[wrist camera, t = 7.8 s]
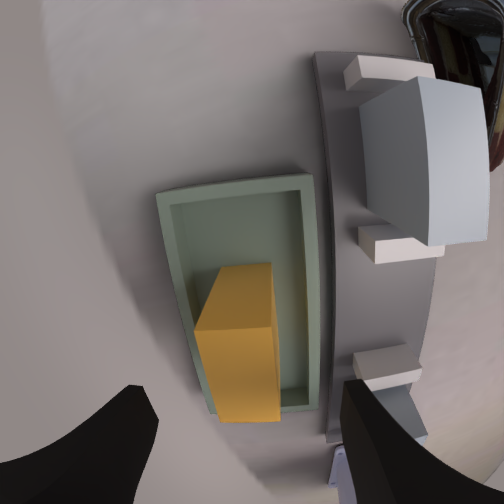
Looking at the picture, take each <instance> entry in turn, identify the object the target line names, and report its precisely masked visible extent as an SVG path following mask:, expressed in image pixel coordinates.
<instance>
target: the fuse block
mask: <svg viewBox="0 0 504 504" xmlns="http://www.w3.org/2000/svg"><path fill="white" fill-rule="evenodd" d="M312 61H313V67H314V72H315V79H316V85H317V91H318V98H319V105H320V113H321V120H322V128H323V137H324V146H325V156H326V166H327V178H328V190H329V205H330V222H331V245H332V347H331V369H330V386H329V400H328V412H327V423H326V433H325V435H326V442H327V443H332V442H339V441H342V433H341V426H340V418H339V417H340V410H341V402H342V393H343V384H344V381H349V380H355V379H362V380H364V382H365V383H366V385H367V386H368V387H369V389H370V390H371V391H376V390H381V389H385V388H390V387H395V386H399V385H403V384H405V385H406V387H407V390H408V392H410V389H411V385H412V382H416V381H419V378H420V375H421V372H422V366H421V365H420V363H419V361H418V360H419V356H420V352H421V348H422V344H423V340H424V335H425V330H426V325H427V320H428V315H429V309H430V304H431V297H432V291H433V283H434V276H435V267H436V257H439V256H444V249H445V245H440V246H431V247H427V246H426V245H424V244H423V243H421V242H420V241H418V240H417V239H415V238H413V237H412V236H410V235H409V234H407V233H405V232H404V231H402V230H401V229H399V228H397V227H396V226H394V225H392V224H391V223H389V222H387V221H386V220H384V219H382V218H381V217H379V216H377V215H376V214H374V213H372V212H370V211H369V210H367V189H366V172H365V159H364V148H363V138H362V129H361V121H360V113H359V106H361V105H362V104H364V103H366V102H368V101H370V100H372V99H373V98H375V97H377V96H379V95H381V94H383V93H385V92H387V91H388V90H390V89H392V88H394V87H396V86H398V85H400V84H402V83H404V82H406V81H408V80H410V79H412V78H414V77H416V76H422V77H428V78H434V79H436V77H435V73H434V68H433V64H428V63H425V62H424V60H419V59H413V58H407V57H399V56H391V55H382V54H371V53H356V52H314V55H313V57H312Z"/></svg>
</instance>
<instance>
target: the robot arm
mask: <svg viewBox="0 0 504 504" xmlns="http://www.w3.org/2000/svg"><path fill="white" fill-rule="evenodd" d="M339 418H340V426H341V433H342V441H343V445H342V446H338V447H337V448H336V449H335V453H334V458H333V463H332V468H331V473H330V478H329V483H328V487H329V488H336V487H337V488H338V496H339V504H504V492H502V491H499V490H496V489H493V488H490V487H488V486H485V485H483V484H481V483H479V482H476V481H474V480H472V479H470V478H468V477H466V476H465V475H463V474H461V473H460V472H458V471H456V470H455V469H453V468H451V467H450V466H448V465H446V464H445V463H443V462H442V461H441V460H439V459H438V458H437V457H435V456H434V455H433V454H431V453H430V452H429V451H428V450H426V449H425V448H424V447H423V446H422V445H420V444H419V443H418V442H417V441H416V440H415V439H414V438H413V437H412V436H411V435H410V434H409V433H408V432H406V431H405V430H404V429H403V427H402V426H401V425H400V424H399V423H398V422H397V421H396V420H395V419H394V418H393V417H392V416H391V414H390V413H389V412H388V411H387V410H386V409H385V408H384V406H383V405H382V404H381V403H380V401H379V400H378V399H377V398H376V396H375V395H374V394H373V393H372V391H371V390H370V389H369V387H368V386H367V385H366V383H365V382H364V380H362V379H355V380H349V381H344V384H343V393H342V402H341V410H340V417H339ZM158 423H159V419H158V417H157V415H156V413H155V412H154V409H153V407H152V405H151V403H150V401H149V399H148V397H147V395H146V393H145V391H144V388H143V386H137V385H128V386H127V387H125V388H124V389H123V390H122V391H120V392H119V393H118V394H117V395H116V396H115V397H113V398H112V399H111V400H110V401H109V402H108V403H106V404H105V405H104V406H103V407H102V408H101V409H99V410H98V411H97V412H96V413H95V414H93V415H92V416H91V417H90V418H89V419H87V420H86V421H85V422H83V423H82V424H81V425H79V426H78V427H77V428H75V429H74V430H73V431H71V432H70V433H68V434H67V435H65V436H64V437H62V438H61V439H59V440H57V441H56V442H54V443H52V444H50V445H48V446H46V447H44V448H42V449H40V450H38V451H36V452H33V453H31V454H29V455H26V456H23V457H21V458H17V459H14V460H11V461H7V462H2V463H0V504H133V501H134V497H135V493H136V490H137V486H138V483H139V481H140V478H141V475H142V473H143V470H144V468H145V465H146V463H147V460H148V457H149V454H150V452H151V449H152V447H153V444H154V440H155V436H156V432H157V428H158Z"/></svg>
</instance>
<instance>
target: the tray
mask: <svg viewBox="0 0 504 504" xmlns="http://www.w3.org/2000/svg"><path fill="white" fill-rule="evenodd" d="M155 195H156V201H157V207H158V213H159V218H160V224H161V229H162V234H163V239H164V244H165V249H166V254H167V259H168V264H169V268H170V273H171V277H172V282H173V286H174V290H175V294H176V299H177V303H178V307H179V311H180V315H181V318H182V322H183V326H184V330H185V333H186V337H187V341H188V344H189V348H190V351H191V355H192V358H193V362H194V365H195V368H196V372H197V375H198V378H199V381H200V385H201V388H202V391H203V394H204V397H205V400H206V403H207V406H208V409H209V412H210V414H217V410H216V407H215V404H214V401H213V398H212V394H211V391H210V388H209V384H208V381H207V378H206V374H205V371H204V367H203V364H202V360H201V356H200V353H199V349H198V345H197V342H196V338H195V334H194V329H195V327H196V324H197V322H198V320H199V317H200V315H201V313H202V310H203V308H204V306H205V303H206V301H207V299H208V296H209V294H210V292H211V290H212V287H213V285H214V283H215V280H216V278H217V276H218V274H219V271H220V269H221V267H226V266H238V265H249V264H260V263H272V273H273V283H274V293H275V304H276V314H277V325H278V336H279V358H280V407H281V413H286V412H298V411H309V410H318V405H319V380H320V282H319V255H318V235H317V219H316V204H315V192H314V180H313V174H310V173H295V174H283V175H273V176H263V177H254V178H245V179H236V180H228V181H221V182H213V183H206V184H199V185H192V186H186V187H180V188H173V189H169V190H166V191H163V192H160V193H157V194H155Z"/></svg>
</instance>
